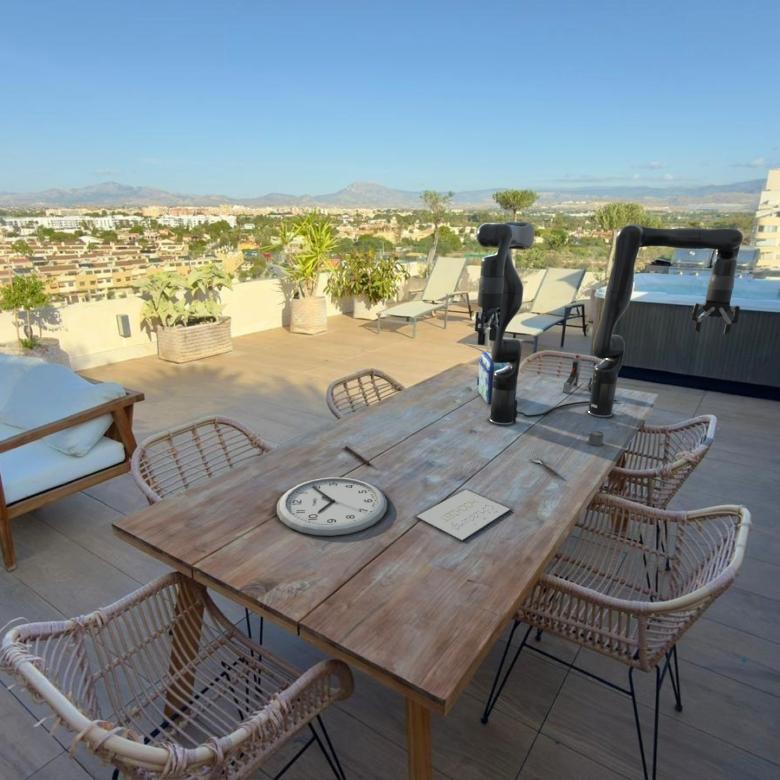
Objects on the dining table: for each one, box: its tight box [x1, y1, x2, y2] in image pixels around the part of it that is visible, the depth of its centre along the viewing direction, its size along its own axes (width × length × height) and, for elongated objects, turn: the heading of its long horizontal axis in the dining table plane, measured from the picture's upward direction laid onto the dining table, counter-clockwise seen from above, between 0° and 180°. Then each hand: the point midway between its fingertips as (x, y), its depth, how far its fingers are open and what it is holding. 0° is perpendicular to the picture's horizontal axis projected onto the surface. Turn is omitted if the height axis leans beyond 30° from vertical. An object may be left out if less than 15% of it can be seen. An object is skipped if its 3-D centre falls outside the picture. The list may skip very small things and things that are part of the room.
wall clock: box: [276, 476, 388, 537], centre depth 142 cm, size 30×2×30 cm
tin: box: [587, 429, 604, 447], centre depth 187 cm, size 5×5×4 cm
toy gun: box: [562, 354, 582, 394], centre depth 247 cm, size 2×16×15 cm
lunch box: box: [476, 351, 508, 406], centre depth 230 cm, size 26×11×21 cm, turn 179°
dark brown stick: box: [344, 445, 370, 465], centre depth 173 cm, size 15×1×1 cm, turn 34°
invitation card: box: [416, 489, 511, 541], centre depth 140 cm, size 21×1×15 cm
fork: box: [528, 451, 559, 477], centre depth 167 cm, size 3×16×2 cm, turn 15°
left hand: (486, 342), depth 166 cm, fingers open, 8 cm apart
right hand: (711, 333), depth 189 cm, fingers open, 8 cm apart
